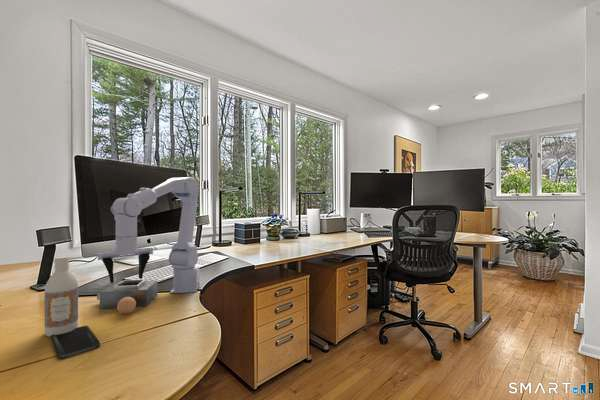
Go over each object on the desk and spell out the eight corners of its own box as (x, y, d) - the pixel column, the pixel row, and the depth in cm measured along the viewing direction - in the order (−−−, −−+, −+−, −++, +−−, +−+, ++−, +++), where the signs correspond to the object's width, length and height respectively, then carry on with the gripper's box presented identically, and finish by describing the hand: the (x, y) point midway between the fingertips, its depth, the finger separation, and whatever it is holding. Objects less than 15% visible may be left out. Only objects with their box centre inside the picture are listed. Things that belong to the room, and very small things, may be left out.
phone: (59, 357, 62) (50, 334, 73) (59, 362, 62) (50, 339, 73) (101, 343, 68) (87, 324, 78) (101, 348, 68) (87, 328, 78)
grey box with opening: (157, 295, 104) (157, 277, 104) (146, 306, 94) (146, 286, 94) (106, 298, 102) (106, 279, 102) (89, 309, 91) (89, 289, 91)
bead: (138, 309, 91) (138, 294, 91) (132, 316, 86) (132, 299, 86) (121, 310, 90) (121, 295, 90) (114, 317, 85) (114, 300, 85)
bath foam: (42, 340, 71) (41, 261, 71) (47, 329, 77) (47, 256, 77) (76, 333, 75) (76, 257, 75) (79, 323, 81) (79, 253, 81)
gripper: (149, 233, 96) (149, 273, 96) (96, 236, 86) (96, 281, 86) (154, 235, 90) (154, 277, 90) (98, 239, 81) (98, 286, 81)
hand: (126, 279), depth 88 cm, fingers open, 7 cm apart
